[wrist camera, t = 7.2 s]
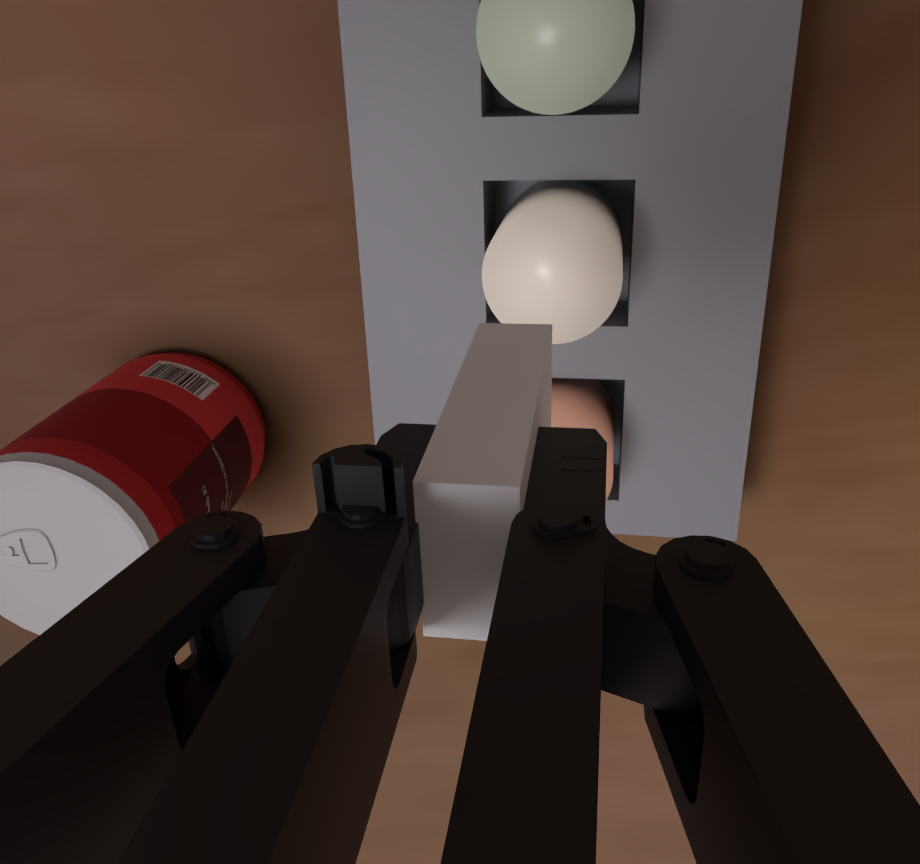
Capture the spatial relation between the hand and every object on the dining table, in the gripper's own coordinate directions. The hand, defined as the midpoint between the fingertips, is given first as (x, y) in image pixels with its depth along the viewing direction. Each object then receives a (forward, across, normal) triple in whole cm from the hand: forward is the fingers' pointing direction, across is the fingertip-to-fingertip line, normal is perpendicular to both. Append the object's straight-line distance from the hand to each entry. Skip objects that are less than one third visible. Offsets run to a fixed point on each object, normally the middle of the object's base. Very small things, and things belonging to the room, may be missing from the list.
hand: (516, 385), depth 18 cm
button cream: (+15, 0, -1) cm, 15 cm away
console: (+17, 0, -1) cm, 17 cm away
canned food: (+17, -17, -10) cm, 26 cm away
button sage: (+15, 0, +6) cm, 16 cm away
